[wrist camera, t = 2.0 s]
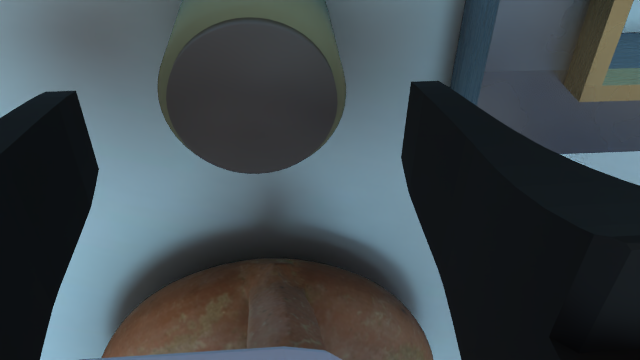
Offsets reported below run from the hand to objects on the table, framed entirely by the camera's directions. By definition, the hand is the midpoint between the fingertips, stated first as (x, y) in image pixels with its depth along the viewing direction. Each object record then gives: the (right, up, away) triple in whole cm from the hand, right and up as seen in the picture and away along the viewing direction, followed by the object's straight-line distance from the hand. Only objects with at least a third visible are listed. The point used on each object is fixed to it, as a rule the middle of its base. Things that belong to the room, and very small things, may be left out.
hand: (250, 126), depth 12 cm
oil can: (0, +4, +5) cm, 6 cm away
